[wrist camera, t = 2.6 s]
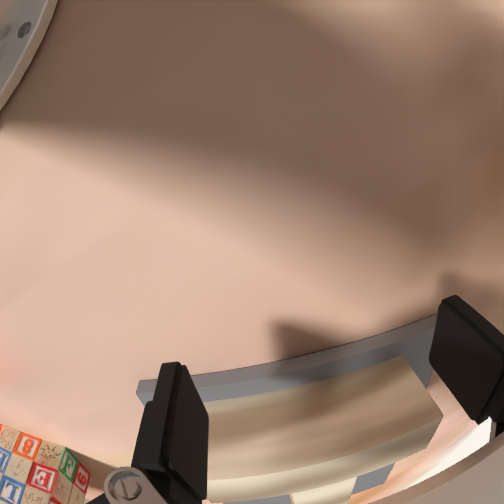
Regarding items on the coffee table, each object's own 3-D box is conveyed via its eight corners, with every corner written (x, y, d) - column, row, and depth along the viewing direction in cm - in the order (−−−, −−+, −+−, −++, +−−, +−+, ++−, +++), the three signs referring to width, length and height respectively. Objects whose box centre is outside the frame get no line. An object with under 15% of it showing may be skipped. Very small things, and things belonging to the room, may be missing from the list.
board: (139, 380, 15) (135, 393, 14) (435, 314, 15) (444, 322, 14) (237, 510, 24) (237, 517, 23) (381, 477, 24) (384, 483, 23)
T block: (193, 403, 14) (189, 481, 10) (401, 354, 14) (443, 415, 10) (238, 479, 18) (242, 529, 14) (378, 446, 19) (397, 491, 14)
